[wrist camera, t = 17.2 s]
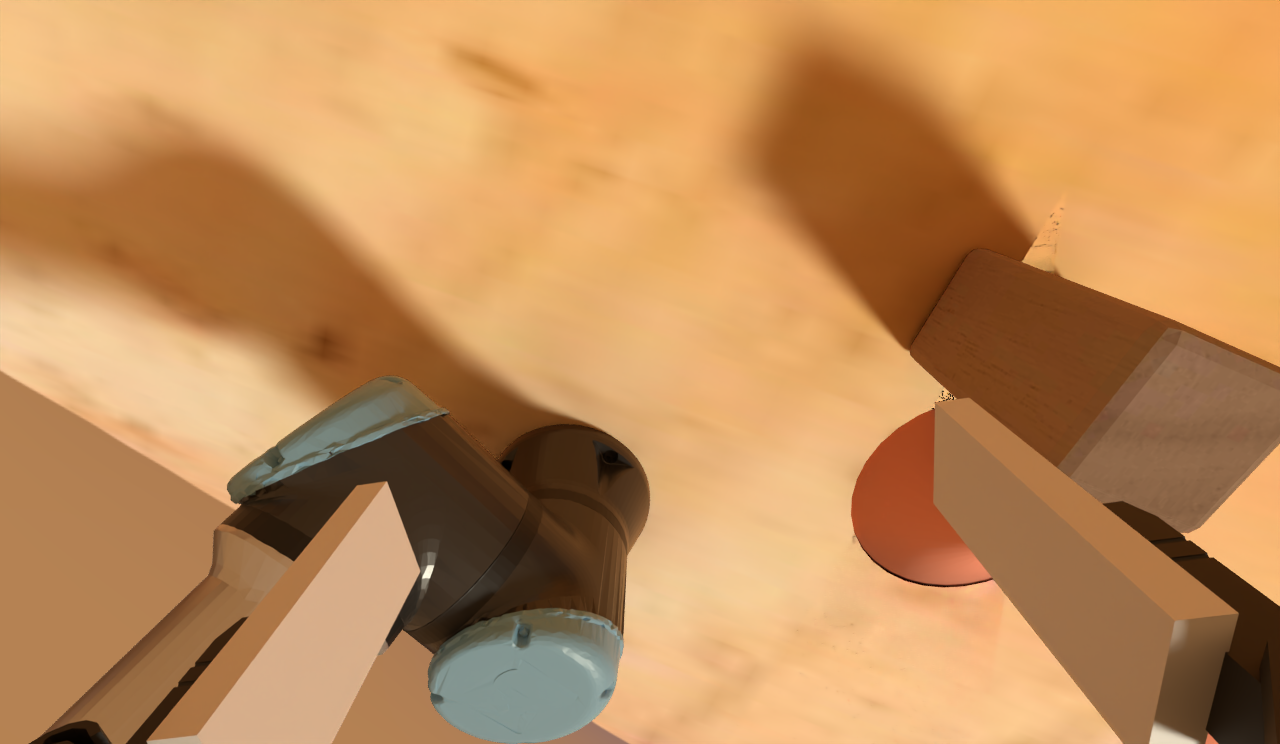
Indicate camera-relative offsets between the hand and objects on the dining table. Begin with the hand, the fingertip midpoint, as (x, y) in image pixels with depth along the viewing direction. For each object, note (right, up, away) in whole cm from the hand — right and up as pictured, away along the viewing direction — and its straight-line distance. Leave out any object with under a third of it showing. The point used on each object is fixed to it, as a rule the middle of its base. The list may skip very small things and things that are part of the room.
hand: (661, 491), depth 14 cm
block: (+28, +7, +35) cm, 45 cm away
